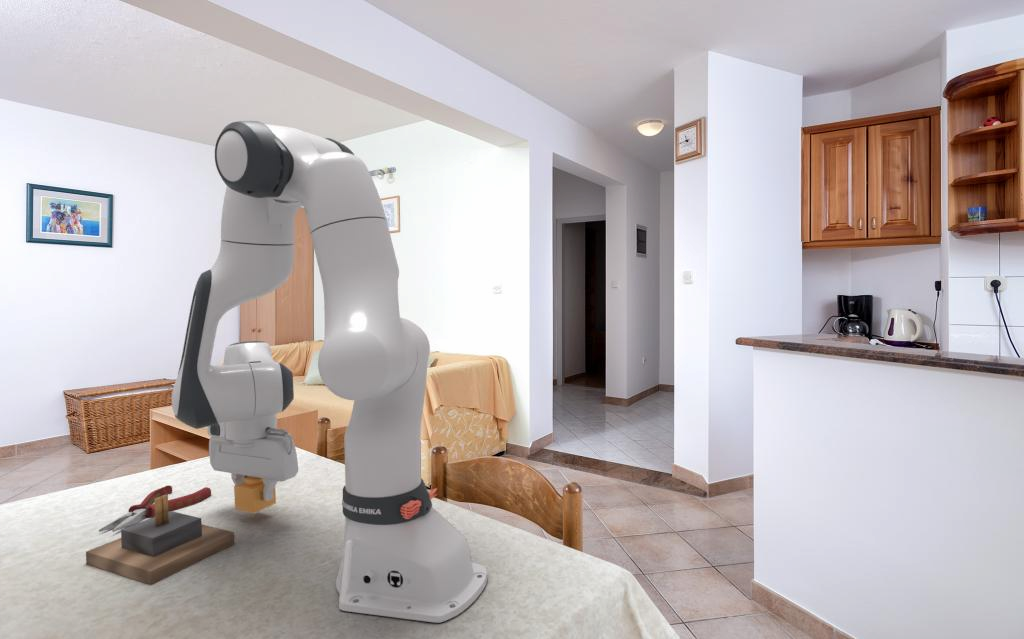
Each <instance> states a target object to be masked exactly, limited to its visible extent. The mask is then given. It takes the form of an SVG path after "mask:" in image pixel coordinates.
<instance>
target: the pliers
mask: <svg viewBox="0 0 1024 639" xmlns="http://www.w3.org/2000/svg"><path fill="white" fill-rule="evenodd" d="M172 493H173V485H172V486H171V485H165V486H163V487H160V488H157V489H155V490H153V491H151V492H150V493H149V494H147V495H146V497H145V498H144V499H143V500H142V501H141V503H140V504H133V505H131V506H129V508H128V512H127V513H124V514H123V515H122V516H120V517H118V518H116V519H114V520H113V521H111V522H110V523H108V524H107V525H105V526H103V527H102V528H100V529H99V530H98V532H99V533H100V532H104V531H108V530H111V529H112V531H111V532H112V533H114V532H117V531H119V530H120V531H121V530H122V529H124V528H127V527H129V526H132V525H135V524H137V523H140V522H142V521H144V520H146V519H151V518H153V517H155V502H154V499H155V498H157V497H161V496H163V495H168V494H169V495H171V494H172ZM169 495H168V496H169ZM211 496H212V489H211V488H210V487H203V488H201V489H200V490H197V491H194V493H189V494H187V495H183V496H179V497H176V498H172V499H168V512H169V511H172V512H174V511H177V510H180V509H184V508H186V507H190V506H194V505H197V504H198V503H201V502H203V501H205V500H207V499H208V498H210V497H211ZM204 499H205V500H204Z"/></svg>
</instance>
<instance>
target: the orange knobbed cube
mask: <svg viewBox="0 0 1024 639" xmlns="http://www.w3.org/2000/svg"><path fill="white" fill-rule="evenodd" d="M264 487H265V484H263V478H257V477H251V476H247V477H246V478H245V482H243V483H241V484H238V485H235V484H234V486H233V492H234V510H236V511H241V512H246V513H251V514H255V513H257V512H260V511H262V510H264V509H266V508H269V507H270V506H273V505H276V504H277V496H276V486H275V487H274V489H273V499H271V500H269V501H264V500H261V499H260V497H261V496H260V491H263V490H264Z"/></svg>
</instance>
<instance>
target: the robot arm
mask: <svg viewBox="0 0 1024 639" xmlns="http://www.w3.org/2000/svg"><path fill="white" fill-rule="evenodd" d="M214 161H215V162H214V163H215V167H216V170H217V172H218V174H219V176H220V178H221V180H222V181H223V183H224V184H225V185H226V188H225V193H224V197H223V204H222V208H221V209H222V210H221V211H222V212H221V222H220V248H219V252H218V253H219V254H218V255H217V258H216V261H215V262H214V264H213V266H211V268H210V269H208V270H205V271H203V272H202V273H201V274H200V275H199V277H198V279H197V281H196V284H195V288H194V290H193V296H192V300H191V304H190V309H189V316H188V321H187V325H186V330H185V335H184V336H185V337H184V341H183V342H184V343H183V348H182V354H181V360H180V364H179V369H178V373H177V377H176V379H175V381H174V384H173V387H172V393H171V407H172V410H173V414H174V417H175V418H176V420H178V421H180V422H181V423H183V424H185V425H186V426H188V427H191V428H193V429H195V430H197V429H198V430H200V429H203V428H207V434H208V435H209V437H210V438H209V440H208V441H209V442H208V453H209V456H208V457H209V464H210V466H211V467H212V469H213V470H214V471H215V472H223V473H228V474H230V475H231V481H232V482H233V483H234V484H233V485H234V486H235V485H238V484H241V483H243V482H245V477H244V476H251V477H257V478H263V484H265V487H264V490H263V491H260V496H261V497H260V499H261V500H264V501H269V500H271V499H273V489H274V487H275V488H276V485H277V483H278V482H285V481H287V480H291V479H293V478H295V477H296V476H297V474H298V473H299V461H298V454H297V448H296V445H295V442H294V440H293V435H291V434H290V433H289V432H288V431H287V429H283V428H282V429H281V428H278V425H277V424H278V421H277V418H278V416H277V414H279V413H283V412H284V411H285V410H286V409H287V408H288V407H289V406H290V405H291V403H292V402H293V400H294V399H295V398H294V397H295V393H294V375H293V372H292V370H290V368H288V367H287V366H286V365H284V364H282V363H281V362H276V361H275V360H274V358H273V355H272V354H273V353H272V348H271V345H270V344H269V343H268V342H265V341H263V340H262V341H261V340H260V341H259V340H246V341H241V342H234V343H231V344H229V345H227V346H226V347H225V351H224V357H223V365H218V366H217V365H211V362H212V356H213V353H214V352H213V351H214V346H215V340H216V336H217V335H216V334H217V329H218V326H219V322H220V320H221V319H222V318H223V316H224V315H225V314H227V312H229V311H230V310H232V309H234V308H236V307H238V306H240V305H242V304H244V303H247V302H249V301H253V300H255V299H259V298H260V297H264V296H266V295H268V294H270V293H273V292H274V291H275V290H276V291H277V289H278V288H280V287H282V285H283V284H284V283H285V282H287V280H288V279H289V277H290V276H291V275H292V273H293V268H294V267H293V266H294V260H295V217H296V214H297V212H298V211H299V210H300V209H301V208H303V209H304V211H305V215H306V221H307V225H308V230H309V234H310V237H311V241H312V245H313V251H314V254H315V258H316V262H317V266H318V270H319V271H318V272H319V275H320V279H321V283H322V291H323V302H324V303H323V304H324V305H323V306H324V308H323V309H324V311H323V312H324V339H323V343H322V345H321V348H320V349H319V350H320V351H319V352H318V358H317V366H318V367H317V368H318V369H317V370H318V373H319V376H320V379H321V380H322V382H323V384H324V386H325V387H326V388H327V390H329V391H330V392H331V393H332V394H333V395H335V396H336V397H339V398H341V399H345V400H347V401H353V406H352V411H351V416H350V419H349V422H348V425H347V426H346V429H345V433H344V436H343V437H344V439H343V441H344V477H345V478H344V482H345V483H344V484H345V485H344V486H343V488H342V500H341V505H342V514H343V516H344V518H345V519H344V521H345V522H344V535H343V546H342V553H341V558H340V565H339V569H338V573H337V577H336V580H335V588H336V590H337V593H338V595H339V596H338V597H339V598H338V609H339V610H340V611H343V612H350V613H351V612H352V613H357V614H358V613H359V614H367V615H372V616H373V615H374V616H379V617H380V616H382V617H388V618H389V617H390V618H396V619H405V620H413V621H418V622H419V621H421V622H429V623H436V624H437V623H443V622H446V621H447V620H451V619H453V618H454V617H456V616H458V615H459V614H462V613H463V612H464V611H466V609H467V608H469V607H470V606H471V605H472V604H473V603H474V602H475V601H476V600H477V599H478V597H479V596H480V595H481V594H482V592H483V591H484V589H485V587H486V586H487V581H488V573H487V567H486V566H485V565H482V564H480V563H477V562H474V561H473V559H472V553H471V548H470V544H469V541H468V539H467V537H466V535H465V534H463V533H462V532H461V531H460V530H459V529H458V528H457V527H456V526H454V525H453V524H452V523H451V522H450V521H448V520H447V518H446V517H444V516H443V515H442V514H441V513H440V512H439V511H437V510H436V508H434V507H433V502H432V499H434V498H435V497H437V495H438V493H436V492H437V490H438V488H437V487H435V488H433V489H432V490H430V491H428V489H427V485H426V483H425V481H424V480H423V478H422V442H421V440H422V438H421V436H422V420H423V412H424V406H425V405H424V404H425V396H426V395H425V394H426V386H427V373H428V362H429V358H430V351H431V346H430V341H429V339H428V336H427V334H426V333H425V331H424V330H423V329H422V328H421V327H420V326H419V325H417V324H416V323H415V322H413V321H411V320H409V319H407V318H403V317H401V315H400V305H399V304H400V303H399V277H400V268H399V264H398V260H397V256H396V252H395V248H394V245H393V241H392V236H391V232H390V228H389V225H388V221H387V217H386V212H385V209H384V206H383V203H382V200H381V197H380V195H379V192H378V191H379V190H378V189H377V186H376V184H375V182H374V179H373V177H372V175H371V173H370V171H369V169H368V166H367V165H366V164H365V162H364V161H363V160H362V159H361V158H359V157H358V156H357V155H355V154H354V152H353V151H352V150H351V148H349V147H348V146H346V145H345V144H344V143H343V144H342V142H339V140H338V141H337V140H335V139H333V138H330V137H322V136H320V135H317V134H314V133H312V132H311V133H310V132H306V131H303V130H301V129H299V128H296V127H290V126H285V125H277V124H268V123H267V124H266V123H264V122H261V121H257V120H239V121H234V122H231V123H228V124H227V125H226V126H225V127H224V128H223V129H222V130H221V132H220V134H219V135H218V137H217V139H216V143H215V147H214Z"/></svg>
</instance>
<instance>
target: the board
mask: <svg viewBox="0 0 1024 639" xmlns="http://www.w3.org/2000/svg"><path fill="white" fill-rule="evenodd" d="M168 500H169V495H163V496H161V497H157V498H155V499H154V504H155V517H153V518H151V517H150V518H147V519H144V520H142V521H140V522H138V523H136V524H134V525H131V526H128V527H125V528H123V529H120V538H118V539H115V540H112V541H109V542H107V543H105V544H102V545H100V546H97V547H95V548H92V549H90V550H87V551H85V558H86V559H85V561H86V564H85V565H88V566H91V567H94V568H98V569H101V570H104V571H107V572H110V573H113V574H117V575H120V576H123V577H126V578H129V579H131V580H135V581H138V582H141V583H143V584H147V585H154V584H155V583H157V582H160V581H161V580H163V578H164V579H165V578H168V577H169V576H171V575H173V574H176V573H178V572H180V571H181V570H184V569H186V568H188V567H189V566H192V565H194V564H196V563H199V562H200V561H202V560H204V559H206V558H208V557H210V556H213V555H215V554H216V553H218V552H220V551H222V550H224V549H226V548H228V547H231V546H232V545H235V532H234V531H231V530H226V529H223V528H222V529H221V528H219V527H218V528H217V527H213V526H211V525H210V526H209V525H205V524H202V518H201V517H198V516H194V515H189V514H186V513H181V512H176V511H169V512H168Z"/></svg>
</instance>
